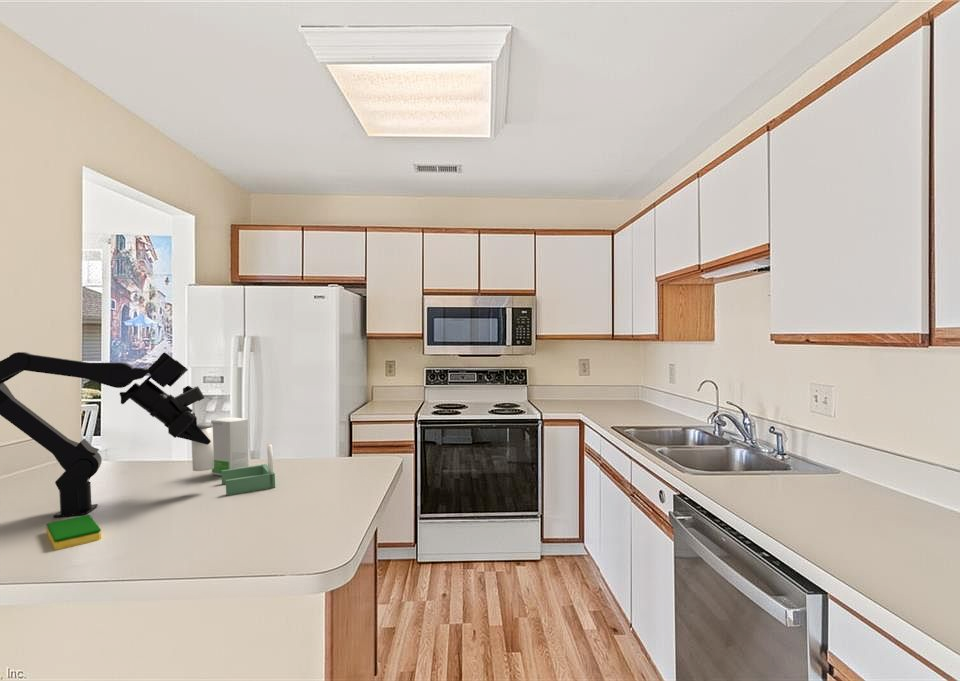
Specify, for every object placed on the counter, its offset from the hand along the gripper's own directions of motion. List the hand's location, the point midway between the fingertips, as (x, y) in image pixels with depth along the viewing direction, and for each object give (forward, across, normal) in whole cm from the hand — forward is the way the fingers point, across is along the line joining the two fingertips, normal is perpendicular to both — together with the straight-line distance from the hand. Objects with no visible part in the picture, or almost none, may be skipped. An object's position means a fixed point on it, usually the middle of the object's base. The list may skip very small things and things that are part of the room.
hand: (208, 441), depth 137 cm
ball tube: (+4, 0, +6) cm, 7 cm away
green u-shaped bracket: (+15, 0, +3) cm, 15 cm away
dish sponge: (-9, -19, +28) cm, 35 cm away
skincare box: (+14, +18, +4) cm, 23 cm away
